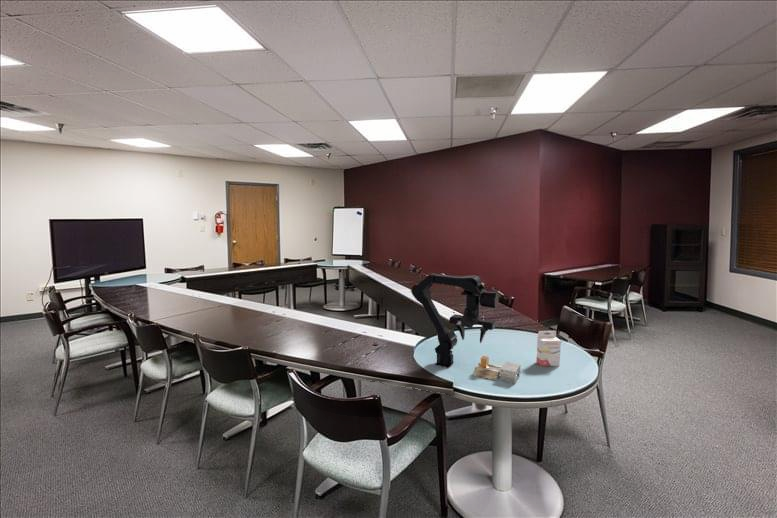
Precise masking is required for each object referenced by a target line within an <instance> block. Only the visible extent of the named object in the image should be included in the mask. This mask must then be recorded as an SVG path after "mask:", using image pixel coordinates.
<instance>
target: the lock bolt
mask: <svg viewBox="0 0 777 518" xmlns="http://www.w3.org/2000/svg"><path fill="white" fill-rule="evenodd" d="M489 360H490V359H489V356H486V355H482V356H481V357H480V362H481V367H483V368H488V369H493V370H498V374H499V375H500V373H501V368H502V367H501V368H496V367H491V366H489V364H490V363H489Z"/></svg>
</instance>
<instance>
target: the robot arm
mask: <svg viewBox="0 0 777 518" xmlns="http://www.w3.org/2000/svg"><path fill="white" fill-rule="evenodd" d="M434 284H437V285H444V286H452V287H457V288H460V289H462V292H461V293H460V295H462V296H465V308H464V312H463V314H462V315H461V314H452V315H451V316H450V317H449V319H448V323H449V324H452V325H453V326H454V327H456V328H457V329H458V331H459V334H460V336H461V340H462V341H464V340H465V331H466V330H465V329H466V328H468V329H471V328H473V326H481V328H479V330H480V336H479V343H480V344H481V343H482V342H483V340H484V337H485V335H486V333H487V332H488V331H493V330H494V329H495V328H496V327H497V323H496V320H494V319H489V318H486V319H485V320H481V316H480V310H481V307H482V308H487V309H494V310H497V309H498V307H499V302H500V301H499V296H498V291H487V289H486V288H485V286H484V285H483V283H482V279H481V277H480V276H478V275H474V274H473V275H464V276H459V275H458V276H457V275H448V274H439V273H436V272H433V273H430V274H428V275H427V276H426V277H425V278H423V280H421V281H420V282H419V283H416V284H414V285H412V286H411V289H410V291H411V294H412V296H413V297H414V299H415V300H416V301H417V302H419V304H421V305H422V307H423V309H424V311H425V313H426V314H427V316H428V318H429V320H430V322H431V323H432V325H433V327H434V330H435V331H436V333H437V341H438V343H439V344H438V345H437V346H436V347H435V348H434V351H435V354H436V362H435V363H434V364H435V365H434V366H438V367H443V368H450V367H451V366H452V365H453V364H454V363H455V362H454V354H453V349H454V347H455V346H456V345H458V335H457V334H455V330H454V328H452V329H449V328H448V327H447V325H446V323H445V322H444V320H443V317H442V316H441V315H440V313H439V310H438V308H437V307H436V305H435V304H434V301H433V300H432V295H431V290H430V289H431V288H432V286H433V285H434ZM480 306H481V307H480Z"/></svg>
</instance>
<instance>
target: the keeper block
mask: <svg viewBox="0 0 777 518" xmlns="http://www.w3.org/2000/svg"><path fill="white" fill-rule="evenodd" d="M520 377H521V364H520V363H515V362H509V361H505V362H504V363H503V365H502V366H501V373H500V376H499V378H500V380H502V381H501V382H505V381H506V382H505V383H509V382H511V383H510V384H514V383H515V384H514V385H516V384H517V382H518V381H519V378H520ZM517 380H518V381H517Z"/></svg>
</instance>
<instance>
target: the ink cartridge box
mask: <svg viewBox="0 0 777 518" xmlns="http://www.w3.org/2000/svg"><path fill="white" fill-rule="evenodd" d="M536 340H537V343H536V345H537V346H536V363H537V364H538V365H539V366H540V367H559V366H560V365H561V364H560V361H561V350H562V349H561V345H562V344H561V343H562V341H561V339H559V338H558V337H557V330H539V331H538V335H537V339H536Z"/></svg>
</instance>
